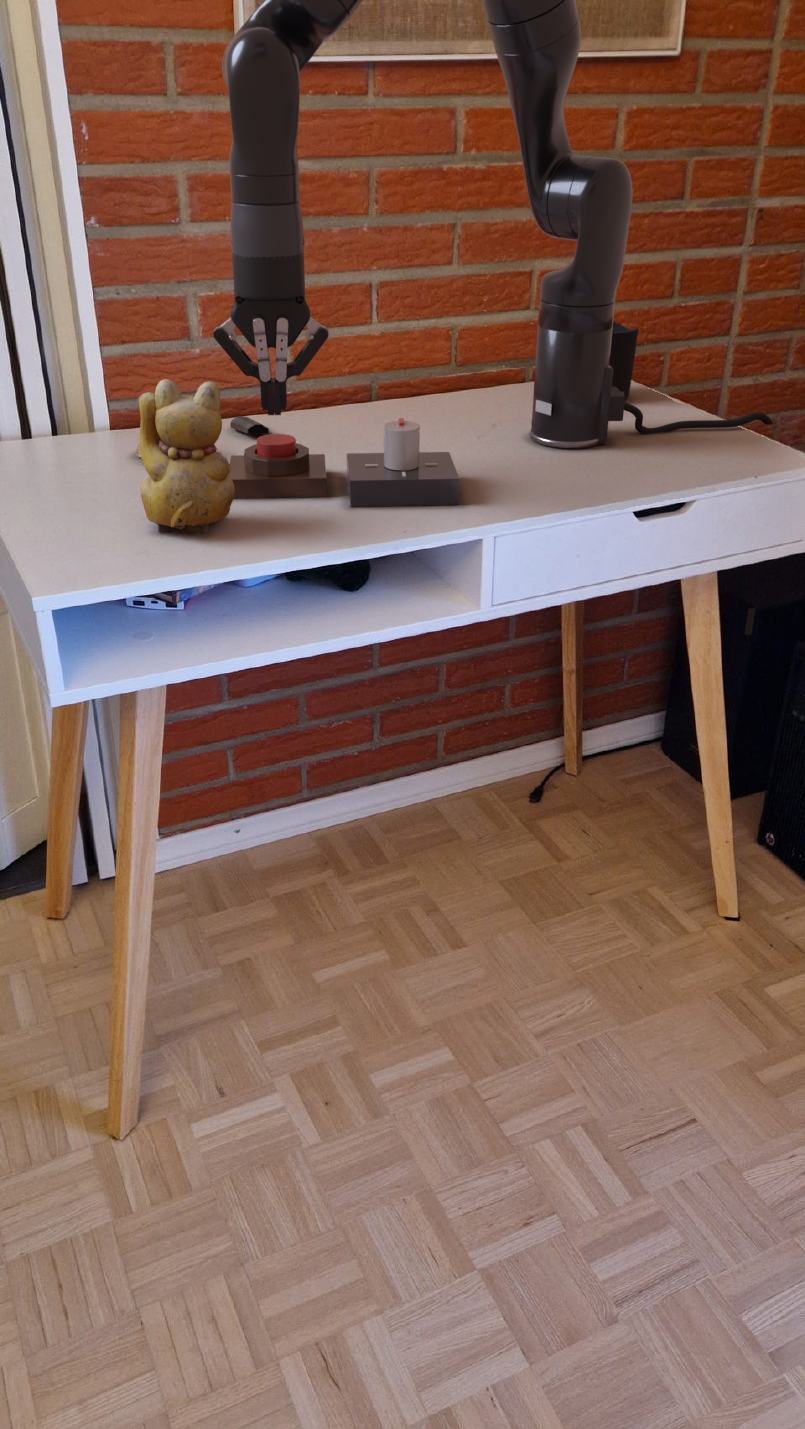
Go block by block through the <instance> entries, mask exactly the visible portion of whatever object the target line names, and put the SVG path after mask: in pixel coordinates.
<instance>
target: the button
mask: <svg viewBox="0 0 805 1429" xmlns="http://www.w3.org/2000/svg"><path fill="white" fill-rule="evenodd" d="M296 440H297V439H296V437H295V436H293V435H290V434H286V433H270V434H269V433H268V434H263V435H261V436H258V438H256V444H257V455H259V456H263V457H269V458H283V457H288V456H293V455H295V454H296V443H297V441H296Z"/></svg>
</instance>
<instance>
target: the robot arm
mask: <svg viewBox="0 0 805 1429" xmlns="http://www.w3.org/2000/svg"><path fill="white" fill-rule="evenodd" d="M363 1H364V0H263V1H262V2H261V4H260V5H258V7H257V8H256V9H255V10H254V11H253V12H252V14H251V15H250V16H249V17H248V19H246V21H245V22H244V23H243V24H242V25H241V27H240V28H239V29H238V31H237V32H236V33H235V34H234V35H233V36H232V38H231V40H230V41H229V42H228V44H227V45H226V48H225V50H224V53H223V57H222V64H221V69H222V70H221V71H222V76H223V80H224V83H225V86H226V88H227V90H228V100H229V101H228V102H229V115H230V125H231V139H232V141H231V146H230V151H229V179H230V180H229V182H230V199H231V210H230V211H231V212H230V244H231V246H230V247H231V257H232V258H231V260H232V277H233V279H232V280H233V297H234V298H233V299H234V302H233V305H232V306H231V309H230V317H229V318H227V319H226V320H225V321H224V322H223V323H221V324H217V325H215V328H214V330H213V334H212V335H213V338H214V340H215V341H216V342H217V344H218V345H219V346H220V347H221V348H222V349H223V351H224V352H225V353H226V355H228V357H229V358H230V359H231V360H232V361H233V363H234V364H235V365H236V366H237V367H238V368H239V370H240V371H241V372H242V373H243V375H245V376H246V377H251V378H255V379H257V380H258V382H259V387H260V406H261V408H262V410H263V411H267V416H281V415H282V411H286V409H287V406H288V396H287V393H288V392H287V391H288V390H287V381H288V380H289V379H290V378H292V377H299V376H301V375H302V374H303V372H304V371H305V369H306V368H307V367H308V366H309V364H310V363H311V361H312V360H313V358H314V357H315V356H316V355H317V353H318V352H319V351H320V349H321V348H322V347H323V345H324V344H325V342H326V341H327V340H328V339H329V335H330V334H329V328H328V327H327V325H325V324H321V323H319V322H318V321H317V320H316V319H314V317H312V316H311V310H310V307H309V305H308V304H307V301H306V278H305V249H304V248H305V236H304V223H303V222H304V221H303V215H302V209H301V202H300V201H301V198H300V196H301V195H300V193H301V192H300V165H299V157H298V155H299V154H298V136H299V135H298V133H299V123H300V122H299V120H300V98H301V79H300V78H301V77H300V76H301V75H300V74H301V72H302V71H303V69H304V68H305V67H306V66H307V65H308V63H309V62H310V60H311V59H312V57H313V56H314V55H315V54H316V52H318V50H319V48H320V47H321V46H322V45H323V43H324V42H326V41H327V40H328V39H330V38H331V37H333V36H334V35H335V34H336V33H337V32H338V31H340V29H342V27H343V26H344V25H345V23H347V22H348V21H349V19H350V17H351V16H352V15H353V14H354V12H356V10H357V9H358V7H359V6H360V5H361V3H362V2H363ZM482 6H483V11H484V15H485V18H486V22H487V25H488V29H489V33H490V37H491V41H492V45H493V48H494V51H495V54H496V57H497V60H498V63H499V67H500V70H501V73H502V77H503V81H504V84H505V89H506V93H507V96H508V100H509V106H510V109H511V113H512V117H513V121H514V125H515V129H516V134H517V139H518V145H519V152H520V156H521V162H522V168H523V174H524V180H525V186H526V191H527V197H528V203H529V207H530V210H531V213H532V217H533V219H534V221H535V223H536V226H537V227H538V228H539V230H540V231H541V232H542V233H543V234H545V235H547V236H549V237H552V238H555V239H561V240H567V241H576V245H575V246H576V247H575V252H574V256H573V259H572V260H571V262H570V263H569V264H567V265H566V266H564V267H562V268H559V269H555V270H552V271H548V272H547V273H545V274H544V275H543V276H542V278H541V280H540V286H539V300H538V301H539V302H538V317H537V333H536V334H537V335H536V347H535V348H536V349H535V363H534V364H535V365H534V381H533V395H532V411H531V412H532V413H531V421H530V422H531V424H530V425H531V426H530V427H531V428H530V429H529V430H530V431H529V432H530V433H529V437H530V439H531V440H532V441H533V442H535V443H538V444H540V445H543V446H547V447H553V448H560V449H582V448H590V447H594V446H598V445H607V440H608V432H609V431H608V430H609V422H623V421H624V412H628V413H631V414H632V415H633V416H634V417H635V421H634V428H635V430H636V431H637V432H638V433H639V434H641V435H651V434H652V435H653V434H663V433H668V432H669V433H670V432H673V431H678V430H683V429H722V428H723V429H724V428H725V429H726V428H736V427H741V426H743V425H746V424H749V423H751V422H753V421H760V422H762V423H763V424H764V425H767V426H770V425H771V426H772V425H774V422H773V420H772V419H771V417H770V416H769V415H767V414H766V413H764V412H760V411H756V412H752V413H749V414H747V415H745V416H742V417H738V418H734V419H715V420H714V419H711V420H709V419H705V420H703V419H702V420H701V419H700V420H697V419H695V420H680V421H675V422H671V423H667V424H663V425H660V426H655V427H647V426H644V425H643V422H644V413H643V412H642V411H641V409H639V408H638V407H637V406H635V405H633V404H631V403H628V402H627V401H626V400H625V396H624V395H623V394H622V393H621V392H620V391H619V390H618V389H617V388H616V387H612V379H613V368H612V367H611V366H610V365H609V362H610V350H611V340H612V329H613V321H614V317H615V305H616V298H617V297H616V296H617V290H618V287H619V284H620V281H621V278H622V274H623V271H624V266H625V259H626V258H625V257H626V251H627V243H628V238H629V237H628V236H629V230H630V224H631V218H632V217H631V216H632V209H633V194H634V192H633V181H632V176H631V173H630V170H629V168H628V167H627V165H626V164H625V163H624V162H623V161H621V160H620V159H618V158H614V157H607V156H591V155H581V154H576V153H575V152H574V150H573V149H572V147H571V143H570V140H569V136H568V135H569V134H568V131H567V127H566V120H565V101H566V98H567V93H568V91H569V87H570V84H571V81H572V77H573V74H574V71H575V69H576V66H577V61H578V58H579V53H580V49H581V43H582V29H581V23H580V22H581V21H580V17H579V12H578V8H577V2H576V0H482ZM306 327H307V330H306V332H305V338H306V340H307V341H306V342H305V344H304V345H303V347H302V348H301V350H299V351H298V353H297V354H296V356H295V357H294V359H293V360H292V361H290V362H288V348H289V347H291V346H292V345H294V343H295V342H296V341H297V339H298V338H299V337H300V335H301V334H302V332H303V330H304V329H305V328H306ZM236 328H237V329H238V330H239V332H240V333H241V334H242V336H243V338H244V339H245V340H246V341H247V342H248V344H250V345H251V347H253V348H255V351H256V359H257V362H254V361H253V359H251V357H250V356H249V355H248V353H247V352H246V351H245V350H244V349H243V347H242V346H240V344H239V343H238V342H237V339H238V332H237V331H236ZM270 348H273V349H275V368H274V377H272V367H271V359H270ZM755 614H756V607H753V608H751V607H748V610H747V615H746V623H745V629H744V634H745V635H746V636H751V635H753V634H752V633H753V627H754V620H755Z"/></svg>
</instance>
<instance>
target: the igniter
mask: <svg viewBox="0 0 805 1429" xmlns="http://www.w3.org/2000/svg"><path fill="white" fill-rule="evenodd" d="M229 458H230V459H229V464H230V467H231V468H230V472H229V474H228V476H229V477H230V478H231V479H232V481H233V483H234V489H235V491H234V498H233V499H277V498H279V499H280V498H327V496H328V488H327V486H328V485H327V469H326V467H327V466H326V454H323V453H313V454H312V453H311V454H310V448H309V447H307V446H305V445H303V444H301V443H297V442H296V454H295V455H293V456H288V457H283V458H269V457H263V456H259V455H257V443H255V444H252V445H250V446H249V447H247V448H244V451H243V455H242V454H241V455H239V454H238V455H230V457H229Z"/></svg>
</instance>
